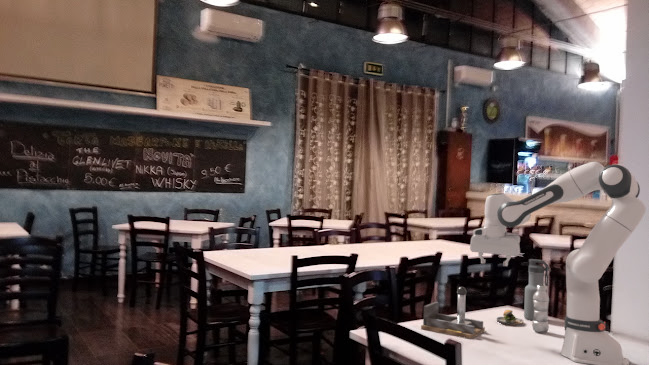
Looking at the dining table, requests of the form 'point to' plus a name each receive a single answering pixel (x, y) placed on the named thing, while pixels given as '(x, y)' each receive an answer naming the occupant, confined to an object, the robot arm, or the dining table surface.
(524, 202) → the robot arm
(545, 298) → the plastic bottle
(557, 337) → the dining table surface
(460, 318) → the press sled
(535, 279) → the water bottle
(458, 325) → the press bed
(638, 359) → the dining table surface
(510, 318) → the burger
